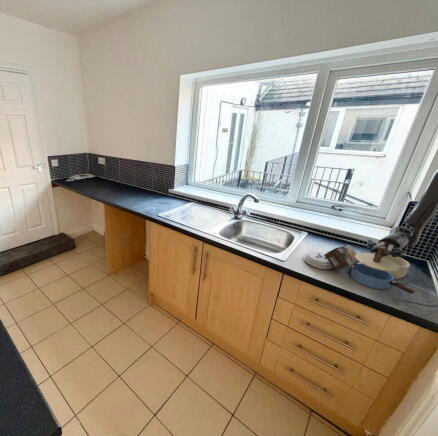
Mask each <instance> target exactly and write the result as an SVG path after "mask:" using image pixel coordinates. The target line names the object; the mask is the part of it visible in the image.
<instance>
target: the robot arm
mask: <svg viewBox="0 0 438 436" xmlns="http://www.w3.org/2000/svg"><path fill="white" fill-rule="evenodd" d="M437 209H438V168H437V169H436V170H435V171H434V173H433V174H432V176H431V178H430V181H429V182H428V184H427V186H426V187H425V189H424V192H423V193H422V195H421V197H420V198H419V200H418V201H417V203H416V204H415V206H414V207H413V209H411V211H410V212H409V214H408V215H407V216H406V217H405V219H404V223H405V224H406V225H408V226H409V227H411V228H412V230H410V229H407V228H405V227H403V226H395V227H393V228H392V229H391V230H390V231H389V233H388V235H386V236H384V237H382V238H380V239H379V240H378V241H375V242H374V241H373V240H372V239H368V240H367V243H366V247H367V249H368V250H369V252H370V254H371V253H375V251H376V249H377V246H384V247H386V250H385V251H384V252H383V253H382V255H381V256H382V257H384V256H385V257H386V256H389V255H391V256H392V257H399V258H402V257H403V258H404V257H406V255H407V253H408V250H405V249H404V247H406V246H407V247H412V246H415V245H416V244H418V243H419V240H420V238H421V235H422V232H423V229H424V228H425V226H426V225H427V224H428V222H429V221H430V220H431V219H432V218H433V216H435V213H436V212H437Z"/></svg>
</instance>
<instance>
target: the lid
mask: <svg viewBox="0 0 438 436" xmlns="http://www.w3.org/2000/svg"><path fill="white" fill-rule="evenodd" d="M326 253H327V252H323V251H319V250H309V251H306V252H305V253H304V257H303V260H304V262H305V263H307V264H308V265H310V266H312V267H314V268H317V269H322V270H331V269H334V267H333V266H332V265H331V263H330V262H329V261H328V260H327V258H326V257H325V256H324V255H325V254H326Z"/></svg>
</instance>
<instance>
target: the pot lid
mask: <svg viewBox="0 0 438 436" xmlns="http://www.w3.org/2000/svg"><path fill="white" fill-rule="evenodd" d="M385 250H386V247H384V246H377V249H376V251H375V254H374V255H373V254H371V253H366V252H359V253H357V254H356V255H355V259H356V260H357V261H358V262H360V263H359V264H364V265H366V266H368V267H371V268H374V269H378V270H382V271H390V272H394V271H398V270H399V266H398V265H397V264H396V263H395V262H393V261H391V260H389V259H387V258H384V257H382V256H381V255H382V253H383V252H384V251H385Z"/></svg>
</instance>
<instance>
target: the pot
mask: <svg viewBox="0 0 438 436" xmlns="http://www.w3.org/2000/svg"><path fill="white" fill-rule="evenodd" d="M370 254H373V255H374V254H375V253H371V252H370ZM384 258H387V259H389V260H391V261H393V262H395V263H396V264H397V265H398V266H399V270H398V271H394V272H390V271H387V272H389V273H391V274H392V276H393V277H394V278H393V280H402V279H403V278H404V277H406V276H407V274H408V271H409V269H410V266H411V264H410V262H409V261H407V260H405V259H404V258H402V257H392V256H391V255H389V256H386V257H385V256H384Z"/></svg>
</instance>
